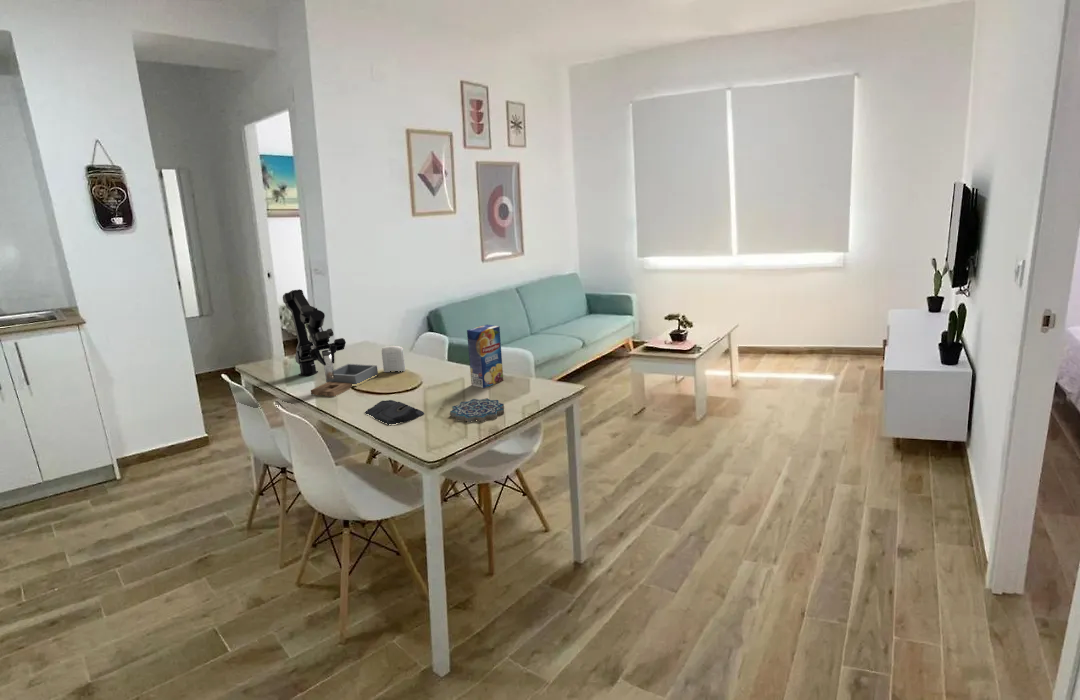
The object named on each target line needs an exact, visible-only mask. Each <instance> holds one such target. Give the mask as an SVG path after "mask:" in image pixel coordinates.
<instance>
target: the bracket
mask: <svg viewBox="0 0 1080 700" xmlns="http://www.w3.org/2000/svg"><path fill="white" fill-rule="evenodd" d="M351 386H352V383H343V382H330V381H329V382H327V383H326V382H325V383H323V384H320V385H318V386H317V387H315V388H313V389H310V395H311V394H314V396H321V395H325V396H324V397H332V396H335V397H337V396H338V395H340V394H343V393H345V392H346V391H348V390H350V388H351ZM352 387H353V386H352ZM351 389H352V388H351ZM336 395H337V396H336Z"/></svg>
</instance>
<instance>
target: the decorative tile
mask: <svg viewBox="0 0 1080 700" xmlns="http://www.w3.org/2000/svg"><path fill="white" fill-rule="evenodd" d="M451 409H452V410H450V411H449V415H450V417H451V416H452V417H451V418H455V421H456V420H465V421H464V422H466V421H467V422H470V423H472V422H471V421H474V422H479V421H482V422H481V423H484V422H486V421H488V420H496V419H498V416H501V415H505V404H504V403H501V402H500V401H499V400H498V399H490V398H488V397H487V398H481V399H477V398H472V399H471V400H469V401H468V400H467V401H466V400H465V401H460V402H459V404H457V405H452V406H451ZM487 419H488V420H487ZM476 420H477V421H476ZM485 420H486V421H485ZM483 421H484V422H483ZM467 422H466V423H467Z"/></svg>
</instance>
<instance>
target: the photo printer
mask: <svg viewBox="0 0 1080 700" xmlns="http://www.w3.org/2000/svg"><path fill="white" fill-rule="evenodd" d="M381 359H382V366H383V372H384V373H391V372H390V371H398V372H397V373H403V372H402V371H404V372H405V371H406V362H405V354H404V347H402V346H399V345H387V346H383V347H381ZM399 371H401V372H399Z"/></svg>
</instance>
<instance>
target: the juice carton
mask: <svg viewBox="0 0 1080 700" xmlns="http://www.w3.org/2000/svg"><path fill="white" fill-rule="evenodd" d="M500 330H501V329H500V326H499V325H494V324H493V325H491V324H484V325H481V326H477V327H474V328H470V329H467V330H466V334H467V337H466V338H467V347H468V357H469V359H468V360H469V370H470V382H471V386H473V387H477V388H482V389H485V388H487V387H490V386H493V385H496V384H498V383H500V382H503V381H504V370H503V358H502V357H503V356H502V344H501V343H502V341H501V331H500Z"/></svg>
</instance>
